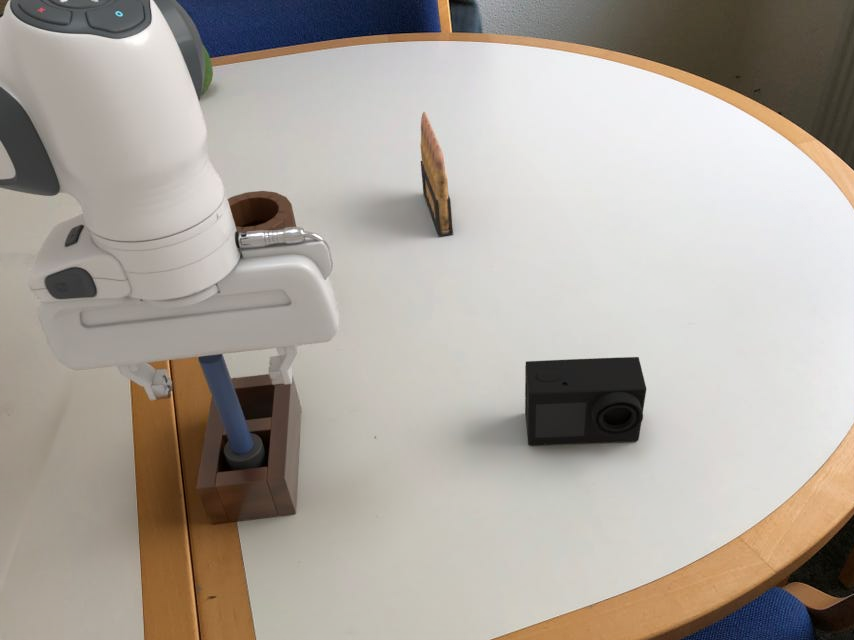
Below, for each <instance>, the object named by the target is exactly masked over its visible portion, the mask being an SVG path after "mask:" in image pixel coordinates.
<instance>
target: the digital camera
mask: <svg viewBox="0 0 854 640" xmlns="http://www.w3.org/2000/svg"><path fill="white" fill-rule="evenodd" d="M524 368H525V373H524V375H525V376H524V377H525V379H524V380H525V381H524V397H525V399H524V415H525V425H526V434H527V445H528V446H543V445H544V446H546V445H574V444H599V443H602V444H603V443H621V442H623V443H625V442H639V439H640V434H641V428H642V427H641V426H642V422H643V420H644V407H645V402H646V396H647V386H646V382H645V377H644V372H643V369H642V365H641V360H640V357H639V356H625V357H624V356H622V357H621V356H620V357H598V358H593V357H592V358H570V359H569V358H568V359H549V360H547V359H546V360H527V361H525V365H524Z"/></svg>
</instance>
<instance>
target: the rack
mask: <svg viewBox="0 0 854 640" xmlns="http://www.w3.org/2000/svg"><path fill="white" fill-rule="evenodd" d="M231 380H232V383H233V386H234V388H235V391H236V394H237V397H238V400H239V403H240V406H241V409H242V412H243V414H244V417H245V420H246V423H247V426H248V429H249V432H250V433H253V434H256V435H257V436H259V437H260V438H261V440H262V443H263V446H264V449H265V452H266V455H267V458H268V467H260V468H252V469H244V470H235V471H231V469H230V467H229V464H228V462H227V459H226V456H225V454H224V448H225V445H226V443H227V442H228V441H229V440H228V437H227V434H226V432H225V429H224V427H223V424H222V421H221V419H220V416H219V413H218V411H217V408H216V405H215V403H214V400H213V397H212V396H211V398H210V399H211V400H210V405H209V411H208V415H207V423H206V429H205V434H204V439H203V440H204V441H203V447H202V451H201V452H202V453H201V457H200V465H199V470H198V476H197V482H196V487H195V488H196V489H195V490H196V491H197V493H198V496H199V498H200V501H201V503H202V504H203V507H204V510H205V511H206V514H207V516H208V518H209V520H210V523H211V525H218V524H226V523H233V522H241V521H250V520H259V519H265V518H274V517H281V516H282V517H283V516H290V515H296V514H297V503H298V487H299V483H298V482H299V464H300V445H301V444H300V443H301V423H302V405H301V400H300V397H299V394H298V390H297V386H296V383H295V378H294V375H293V374H292V384H286V385H276V386H273V385H272V383H271V382H272V379H271V378H270V376H269V373H266V374H257V375H249V376H239V377H231Z"/></svg>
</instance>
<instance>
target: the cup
mask: <svg viewBox="0 0 854 640" xmlns="http://www.w3.org/2000/svg"><path fill="white" fill-rule="evenodd" d="M227 199H228V202H229V206H230V209H231V212H232V216H233V219H234V222H235V226H236V229H237V232H238V233H239V232H248V231H258V230H282V229H284V228H288V227H297V223H296V218H295V214H294V210H293V204H292V203H291V202H290V200H289V199H288V197H287V196H285V195H282V194H280V193H278V192H275V191H267V190H258V191H247V192H243V193H240V194H237V195H233V196H231V197H229V198H227Z"/></svg>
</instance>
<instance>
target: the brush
mask: <svg viewBox="0 0 854 640" xmlns="http://www.w3.org/2000/svg"><path fill="white" fill-rule="evenodd" d="M224 357H225V356H224V354H218V355H209V356H201V357H197V359H198V364H199V366H200V369H201V370H202V373H203V376H204V379H205V381H206V384H207V387H208V390H209V392H210V395H211V398H212V397H213V400H214V403H215V405H216V408H217V411H218V413H219V416H220V419H221V421H222V424H223V427H224V429H225V432H226V434H227V437H228V440H229V441H228V442H227V443H226V445H225V448H224V454H225V456H226V459H227V462H228V464H229V467H230V469H231V471H235V470H244V469H252V468H260V467H268V458H267V455H266V452H265V449H264V446H263V443H262V440H261V438H260V437H259V436H257V435H256V434H253V433H250V432H249V429H248V426H247V423H246V420H245V417H244V414H243V412H242V409H241V406H240V403H239V400H238V397H237V394H236V391H235V388H234V386H233V383H232V380H231V378H232V377H231V375H230V372H229V368H228V366H227V363H226V360H225V358H224Z"/></svg>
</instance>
